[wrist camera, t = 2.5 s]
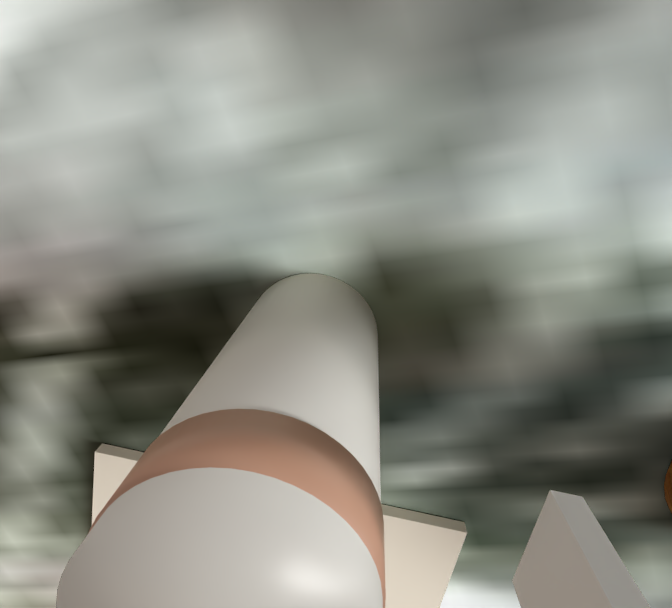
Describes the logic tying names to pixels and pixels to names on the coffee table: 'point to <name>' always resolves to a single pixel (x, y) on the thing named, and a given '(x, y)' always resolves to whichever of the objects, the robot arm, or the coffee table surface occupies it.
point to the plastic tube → (256, 474)
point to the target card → (399, 537)
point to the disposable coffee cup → (668, 487)
